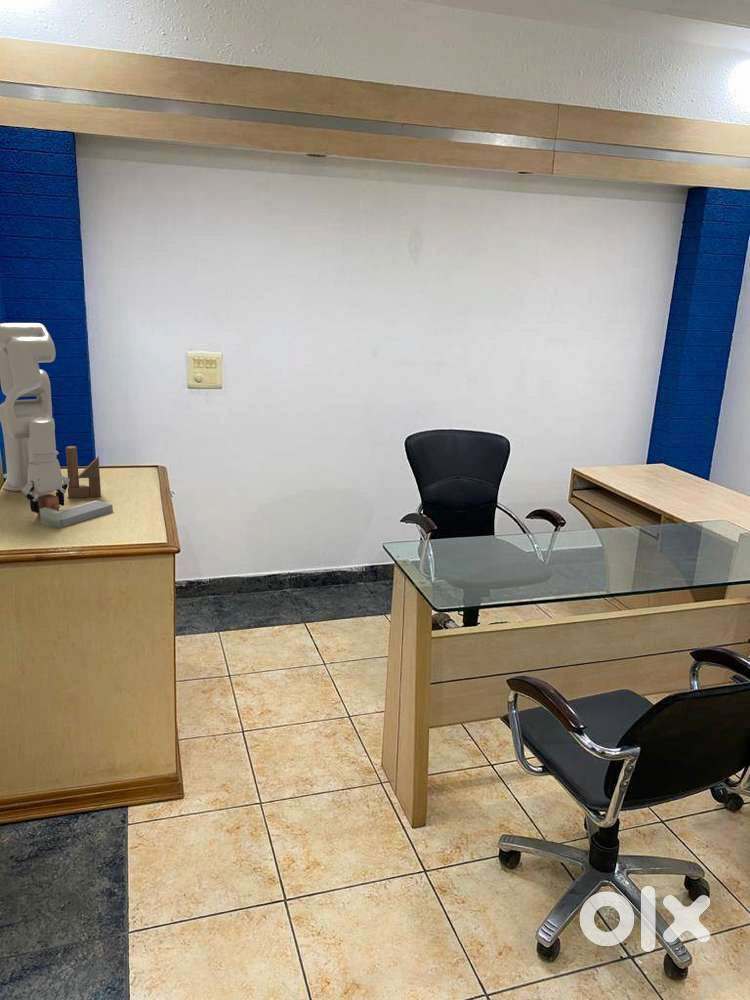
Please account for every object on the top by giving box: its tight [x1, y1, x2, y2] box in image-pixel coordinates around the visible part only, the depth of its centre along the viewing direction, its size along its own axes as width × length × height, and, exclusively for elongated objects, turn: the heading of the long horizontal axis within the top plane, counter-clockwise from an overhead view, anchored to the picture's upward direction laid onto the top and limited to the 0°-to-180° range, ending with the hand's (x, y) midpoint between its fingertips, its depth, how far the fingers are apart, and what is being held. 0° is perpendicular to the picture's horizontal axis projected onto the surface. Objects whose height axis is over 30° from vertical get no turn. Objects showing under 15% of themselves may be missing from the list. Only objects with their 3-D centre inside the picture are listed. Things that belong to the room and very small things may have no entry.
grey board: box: [39, 499, 114, 529], centre depth 258 cm, size 8×22×5 cm, turn 149°
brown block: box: [36, 492, 61, 518], centre depth 257 cm, size 8×4×7 cm, turn 59°
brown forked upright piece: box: [65, 445, 102, 499], centre depth 278 cm, size 4×11×18 cm, turn 105°
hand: (48, 508), depth 258 cm, fingers open, 9 cm apart
